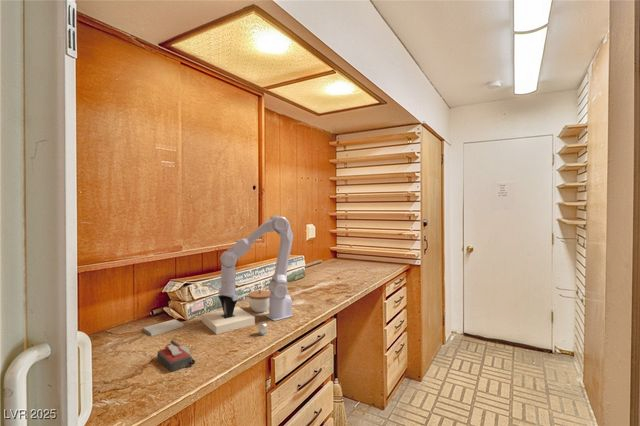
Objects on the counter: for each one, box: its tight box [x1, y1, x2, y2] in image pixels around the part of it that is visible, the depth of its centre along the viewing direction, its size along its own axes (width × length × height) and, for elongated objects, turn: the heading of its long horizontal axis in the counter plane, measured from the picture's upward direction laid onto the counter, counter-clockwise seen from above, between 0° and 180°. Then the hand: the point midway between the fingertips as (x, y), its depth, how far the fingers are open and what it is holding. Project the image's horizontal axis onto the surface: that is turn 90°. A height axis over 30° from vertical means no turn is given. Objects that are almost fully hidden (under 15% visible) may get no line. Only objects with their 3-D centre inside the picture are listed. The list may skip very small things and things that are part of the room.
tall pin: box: [224, 302, 232, 319], centre depth 131 cm, size 3×3×8 cm
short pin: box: [257, 321, 268, 337], centre depth 121 cm, size 3×3×4 cm
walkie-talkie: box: [156, 339, 196, 373], centre depth 102 cm, size 9×4×20 cm
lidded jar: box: [247, 289, 271, 313], centre depth 147 cm, size 11×11×9 cm
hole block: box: [201, 306, 256, 335], centre depth 131 cm, size 16×16×3 cm
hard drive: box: [142, 318, 185, 337], centre depth 125 cm, size 2×8×12 cm
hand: (228, 313), depth 131 cm, fingers closed on tall pin, 3 cm apart
